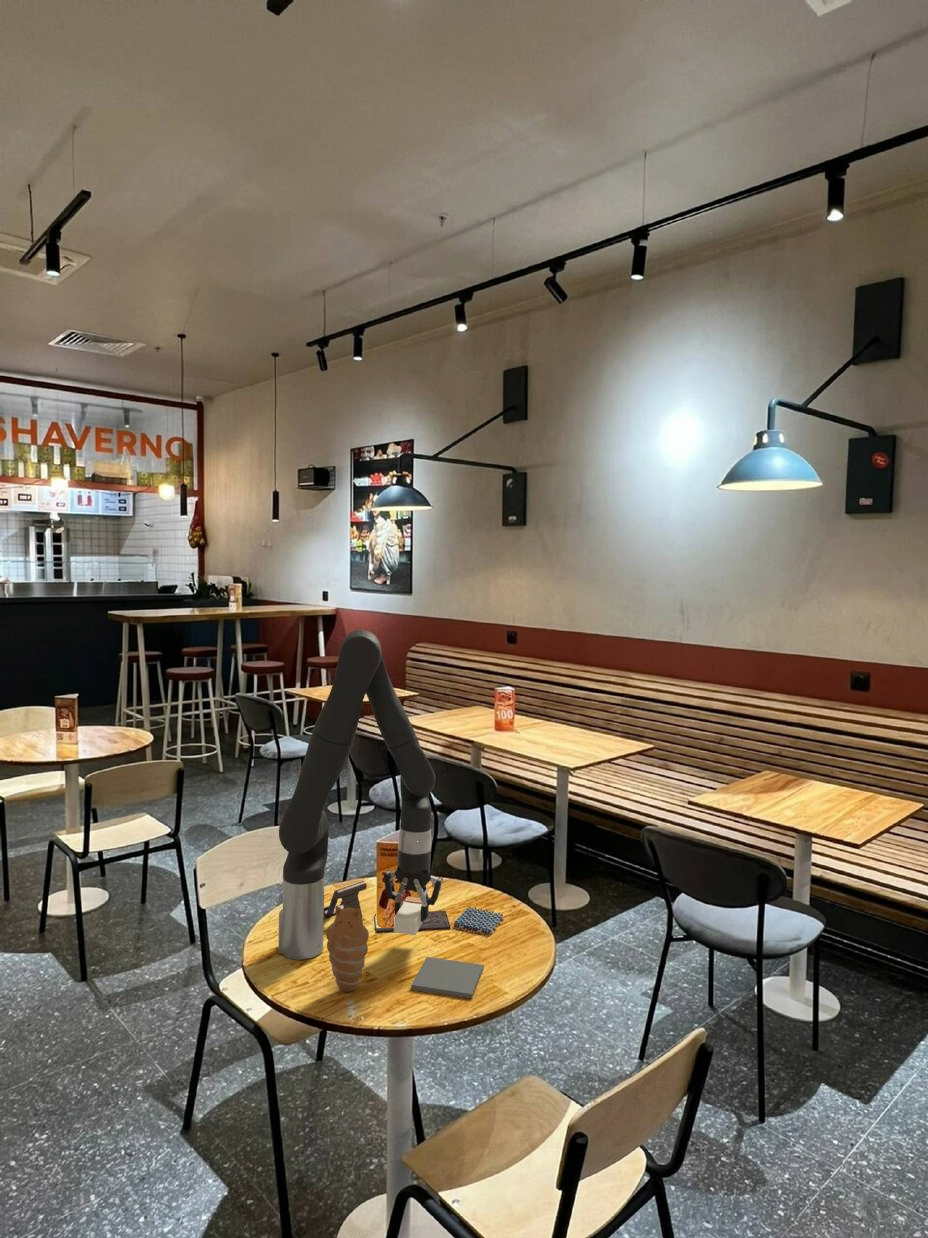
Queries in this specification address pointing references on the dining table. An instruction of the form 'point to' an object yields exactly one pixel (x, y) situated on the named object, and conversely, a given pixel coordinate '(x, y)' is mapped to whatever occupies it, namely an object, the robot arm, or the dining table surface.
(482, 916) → the woven mat
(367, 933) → the cat ice cream
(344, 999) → the dining table surface
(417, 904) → the block with tan end
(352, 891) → the portable electronic device stand
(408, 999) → the dining table surface
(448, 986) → the rubber mat
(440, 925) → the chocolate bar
